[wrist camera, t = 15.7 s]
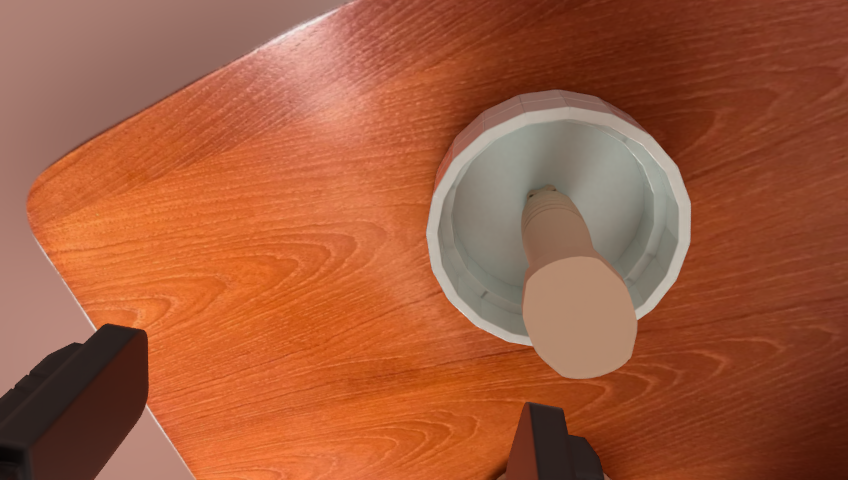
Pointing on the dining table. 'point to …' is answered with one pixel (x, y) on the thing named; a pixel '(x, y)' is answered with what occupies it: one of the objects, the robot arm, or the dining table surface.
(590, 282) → the handle
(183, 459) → the dining table surface
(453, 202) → the mixing bowl
